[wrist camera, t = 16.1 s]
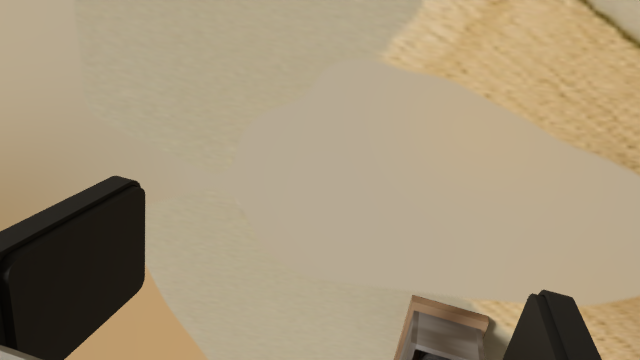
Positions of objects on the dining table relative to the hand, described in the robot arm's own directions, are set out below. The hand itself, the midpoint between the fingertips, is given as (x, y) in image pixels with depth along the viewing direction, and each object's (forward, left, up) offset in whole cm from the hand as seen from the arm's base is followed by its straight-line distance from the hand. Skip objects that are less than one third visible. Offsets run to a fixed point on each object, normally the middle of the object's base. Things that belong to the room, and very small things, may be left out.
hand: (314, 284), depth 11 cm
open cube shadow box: (-9, +23, -28) cm, 37 cm away
